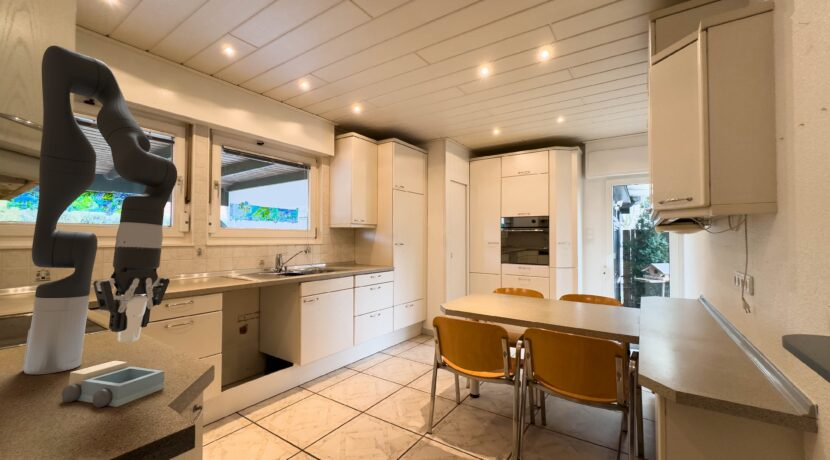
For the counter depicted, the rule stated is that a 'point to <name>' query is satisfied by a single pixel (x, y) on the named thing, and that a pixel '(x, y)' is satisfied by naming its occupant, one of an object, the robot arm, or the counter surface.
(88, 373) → the chassis
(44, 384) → the counter surface
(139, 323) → the milkshake
